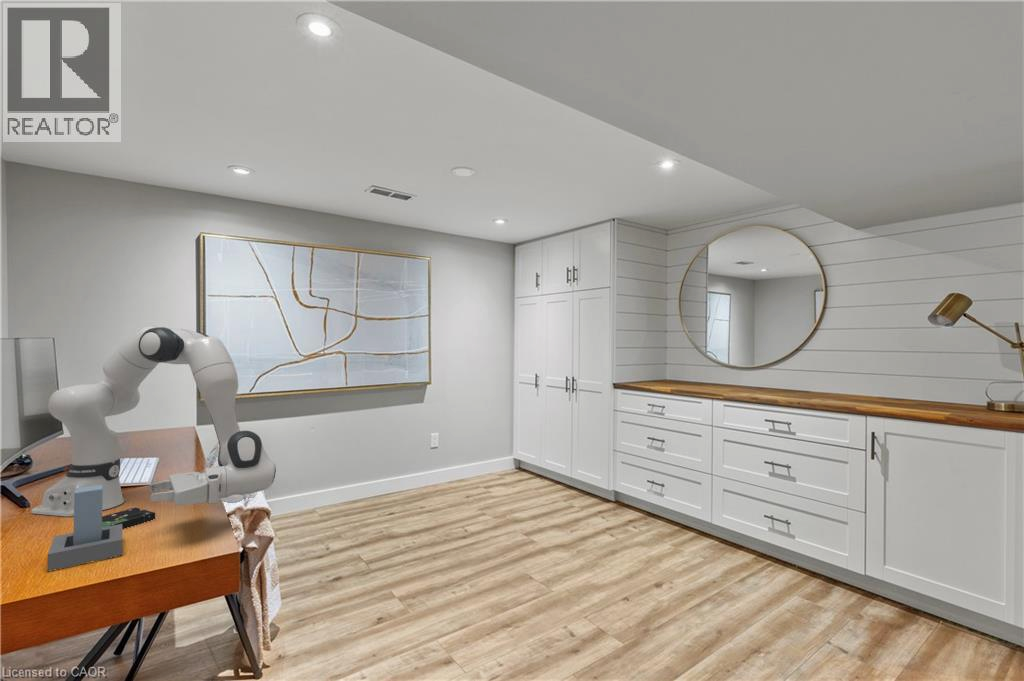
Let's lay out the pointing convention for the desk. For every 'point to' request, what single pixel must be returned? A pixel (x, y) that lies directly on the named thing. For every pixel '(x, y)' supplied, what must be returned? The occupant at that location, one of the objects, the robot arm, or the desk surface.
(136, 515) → the disk drive
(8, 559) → the desk surface
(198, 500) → the robot arm
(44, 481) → the desk surface
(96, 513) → the blue block
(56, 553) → the well block
